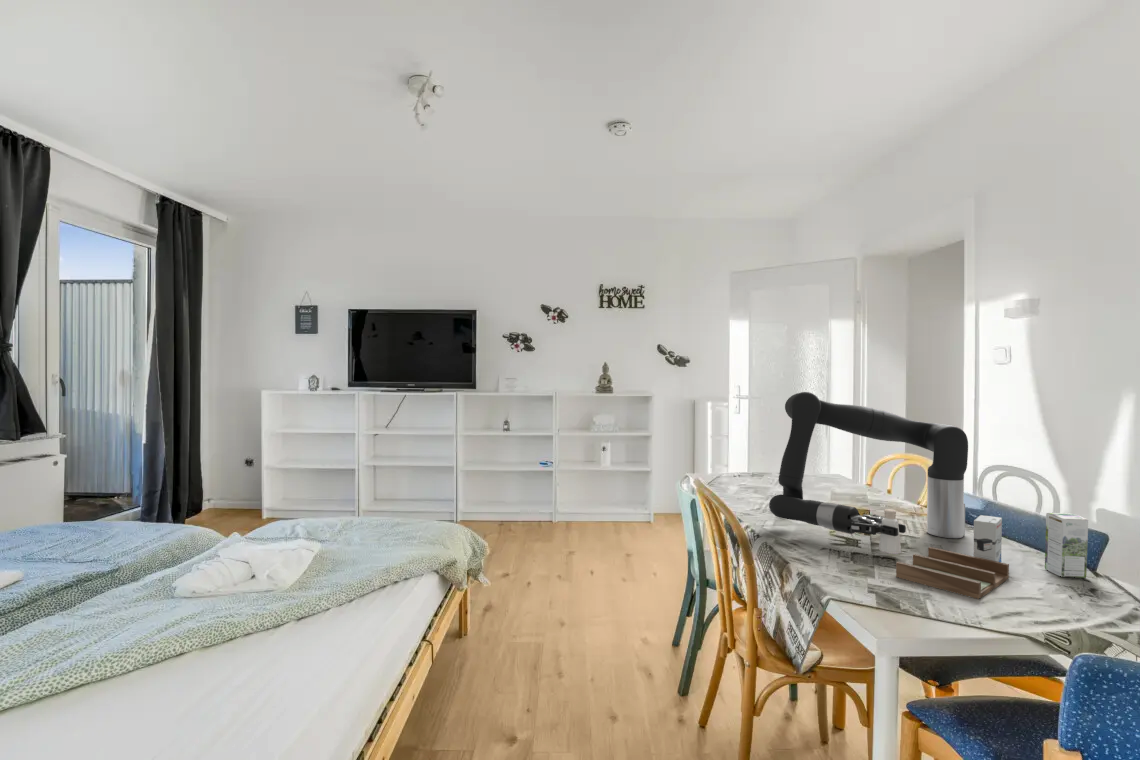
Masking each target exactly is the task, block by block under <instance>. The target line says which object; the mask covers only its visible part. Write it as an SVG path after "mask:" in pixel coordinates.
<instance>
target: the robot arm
mask: <svg viewBox="0 0 1140 760" xmlns="http://www.w3.org/2000/svg"><path fill="white" fill-rule="evenodd" d="M785 401H786V402H785V404H784V410H785V412H786V414H787V416H788V417H789V418H790V419H791V427H790V433H789V436H788V441H787V443H786V447H785V450H784V451H783V456H782V458H781V463H780V468H779V469H780V470H779V473H778V484H779V485H780V486H781V487H782V494H777V495H774V496H772V497H771V498H770V500H769V503H768V508H769V511H770V512H771V513H772V514H773V515H774V516H775V517H777V518H779V519H780V518H781V519H786V520H792V521H798V522H804V523H806V524H809V525H814V526H818V527H823V528H824V529H827V530H831V531H837V532H840V533H845V534H849V535H850V534H851V535H852V534H855V533H859V534H865V535H866V534H867V535H872V536H875V535H877V534H878V535H880V534H887V535H891V536H898V528H896V527H891V526H887V525H882V519H883V518H885V516H881V515H878V514H875V513H874V514H872V515H870V514H862V515H861V514H860V512H859V509H858V508H857V507H854V506H850V505H846V504H845V505H844V504H839V503H834V502H825V501H819V500H813V499H804V493H803V491H804V490H803V482H804V477H805V476H804V475H805V469H806V465H807V458H808V453H809V448H810V443H811V440H812V436H813V432H814V430H815V427H816V425H823V426H827V427H832V428H834V429H837V430H840V431H843V432H846V433H850V434H853V435H857V436H860V437H864V438H868V439H873V440H879V441H883V442H884V441H885V442H897V443H899V442H900V443H905V444H910V445H913V446H916V447H920V448H922V449H924V450H928V451H931V452H932V453H933V454H932V455H933V456H932V457H933V458H932V464H931V465H930V466H928V467H927V491H926V492H927V493H926V494H927V495H926V496H927V497H926V498H927V501H926V505H927V508H926V509H927V510H926V511H927V512H926V513H927V514H926V531H927V532H926V533H928V534H930V535H932V536H936V537H939V538H946V539H947V538H948V539H960V538H963V537H964V536H965V535H966V504H965V503H964V501H965V500H964V499H965V498H964V497H965V494H964V493H965V491H964V490H965V487H964V486H965V484H964V483H965V474H966V471H967V468H968V461H969V460H968V459H969V457H968V456H969V441H968V435H967V434H966V432H965V431H964V430H963V429H961V428H960V427H957V426H955V425H951V424H945V423H933V422H925V421H918V420H913V419H909V418H906V417H904V416H901V415H899V414H896V413H893V412H890V411H886V410H882V409H878V408H874V407H869V406H862V405H856V404H843V403H833V402H829V401H825V400H822V399H819V398H818V396H817V395H816V394H814V393H813V392H809V391H802V392H801V391H800V392H798V393H795V394H793V395H790V397H788V399H786V400H785ZM898 526H899V534H905V533H906V532H907V530H906V529H907V527H906V524H903V523H900V522H898Z"/></svg>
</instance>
